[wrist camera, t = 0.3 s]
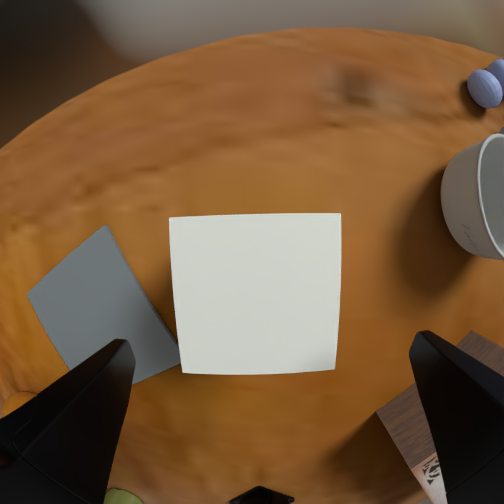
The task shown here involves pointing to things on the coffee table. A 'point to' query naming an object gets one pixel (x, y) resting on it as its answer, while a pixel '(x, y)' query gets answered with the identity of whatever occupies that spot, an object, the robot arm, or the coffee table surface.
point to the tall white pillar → (256, 292)
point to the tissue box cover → (416, 426)
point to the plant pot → (120, 497)
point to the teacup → (476, 197)
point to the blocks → (488, 85)
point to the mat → (102, 308)
